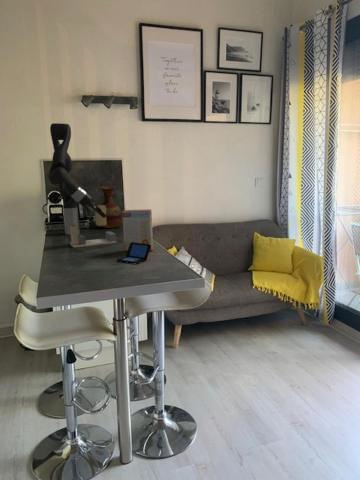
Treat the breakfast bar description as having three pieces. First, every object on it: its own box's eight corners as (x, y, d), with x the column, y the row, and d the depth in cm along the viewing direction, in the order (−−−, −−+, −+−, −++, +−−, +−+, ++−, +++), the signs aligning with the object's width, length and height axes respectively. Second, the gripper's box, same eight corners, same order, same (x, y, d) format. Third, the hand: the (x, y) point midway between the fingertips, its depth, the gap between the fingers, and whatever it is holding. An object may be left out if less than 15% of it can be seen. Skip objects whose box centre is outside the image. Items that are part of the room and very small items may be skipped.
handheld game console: (115, 262, 174) (114, 246, 173) (131, 257, 183) (130, 241, 181) (136, 265, 167) (135, 248, 166) (152, 260, 176) (151, 244, 174)
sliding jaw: (70, 241, 219) (69, 224, 217) (81, 240, 221) (79, 223, 219) (74, 245, 208) (73, 227, 206) (85, 244, 210) (84, 226, 209)
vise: (69, 243, 219) (69, 235, 218) (110, 239, 229) (110, 231, 228) (73, 247, 208) (72, 238, 207) (116, 242, 218) (116, 234, 217)
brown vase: (95, 230, 267) (92, 186, 261) (95, 225, 286) (93, 185, 281) (123, 228, 271) (121, 185, 265) (122, 224, 290) (120, 184, 285)
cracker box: (153, 249, 198) (151, 208, 194) (151, 251, 192) (149, 210, 188) (127, 249, 199) (124, 209, 196) (124, 251, 194) (122, 210, 190)
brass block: (95, 224, 220) (94, 205, 218) (104, 224, 222) (103, 205, 220) (97, 225, 215) (96, 206, 213) (106, 225, 217) (105, 205, 216)
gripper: (88, 191, 206) (111, 212, 213) (83, 190, 218) (105, 210, 226) (79, 202, 204) (103, 222, 212) (74, 200, 217) (96, 220, 224)
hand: (103, 216), depth 219 cm, fingers closed on brass block, 5 cm apart
